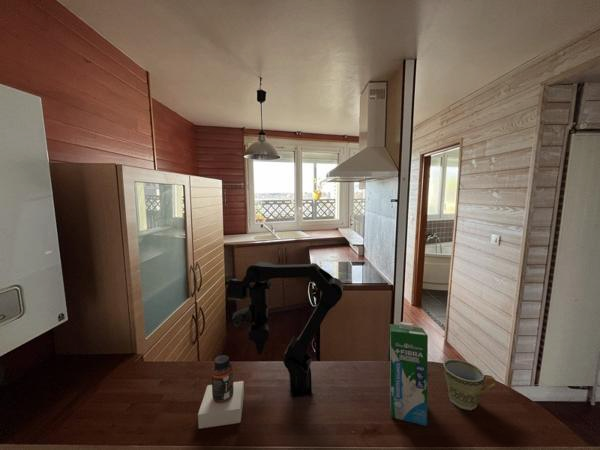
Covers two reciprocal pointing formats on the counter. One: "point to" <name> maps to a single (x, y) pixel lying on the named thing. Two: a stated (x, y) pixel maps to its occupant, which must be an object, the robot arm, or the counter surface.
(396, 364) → the milk carton
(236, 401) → the plinth
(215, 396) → the supplement bottle
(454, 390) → the ceramic cup
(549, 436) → the counter surface
